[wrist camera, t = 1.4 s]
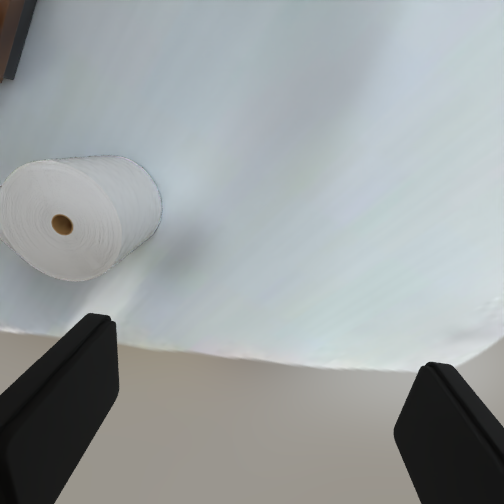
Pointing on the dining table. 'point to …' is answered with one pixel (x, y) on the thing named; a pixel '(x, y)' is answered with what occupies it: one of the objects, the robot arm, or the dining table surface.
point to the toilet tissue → (78, 214)
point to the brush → (13, 33)
